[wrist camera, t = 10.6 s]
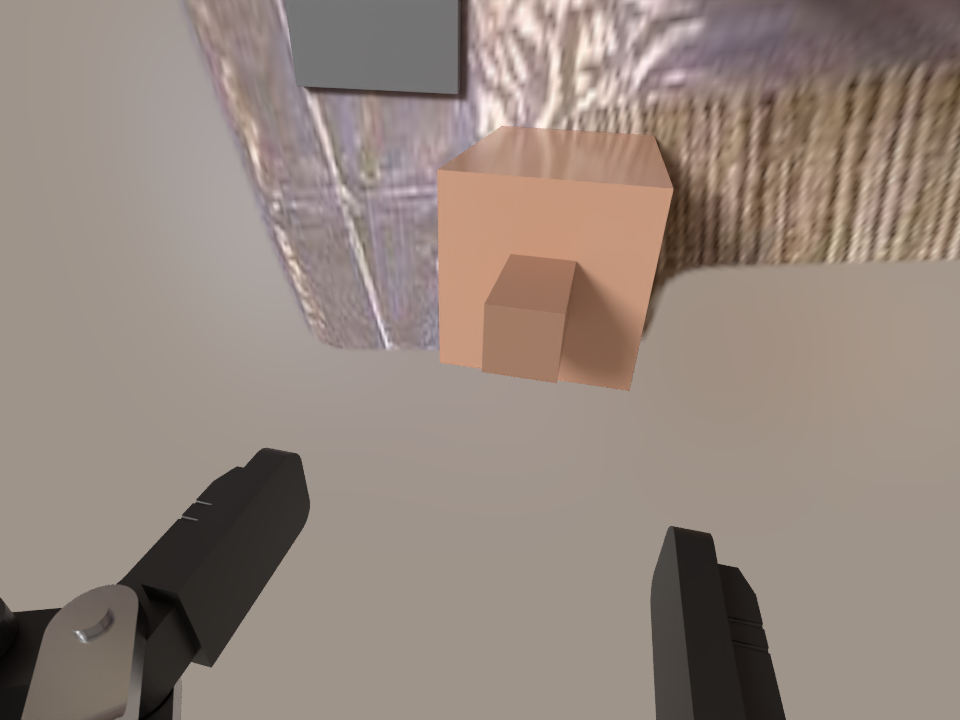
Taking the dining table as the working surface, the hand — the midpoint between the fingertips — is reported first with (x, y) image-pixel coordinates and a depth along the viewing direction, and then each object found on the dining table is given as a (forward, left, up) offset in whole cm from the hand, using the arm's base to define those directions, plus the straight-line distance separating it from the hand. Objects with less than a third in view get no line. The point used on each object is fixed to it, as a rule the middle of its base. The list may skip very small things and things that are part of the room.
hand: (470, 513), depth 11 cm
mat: (+2, -16, -25) cm, 30 cm away
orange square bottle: (0, 0, -25) cm, 25 cm away
